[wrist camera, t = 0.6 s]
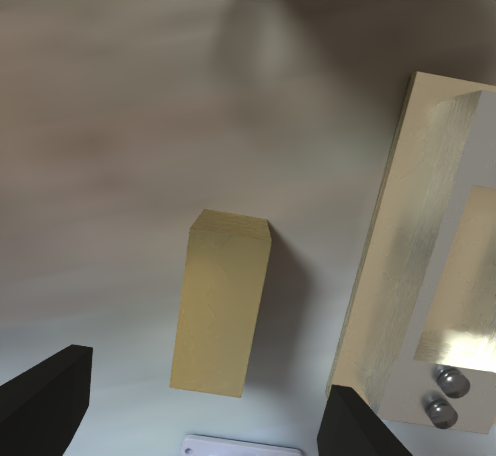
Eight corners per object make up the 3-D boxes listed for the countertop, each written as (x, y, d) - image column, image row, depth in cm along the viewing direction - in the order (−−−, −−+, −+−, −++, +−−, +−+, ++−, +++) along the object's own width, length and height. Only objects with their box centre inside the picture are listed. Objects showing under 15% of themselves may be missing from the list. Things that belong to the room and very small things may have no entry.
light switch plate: (489, 416, 21) (528, 459, 18) (325, 392, 21) (337, 432, 18) (619, 113, 16) (698, 106, 14) (411, 74, 16) (447, 57, 13)
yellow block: (242, 343, 20) (241, 397, 16) (186, 334, 20) (169, 387, 15) (266, 218, 18) (271, 241, 14) (204, 208, 18) (189, 228, 14)
